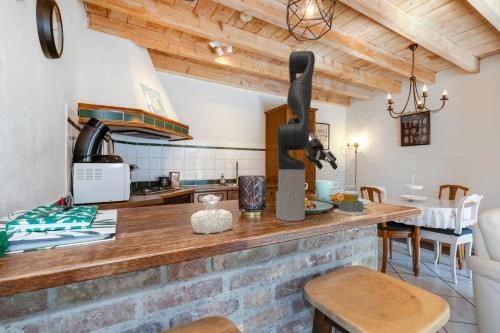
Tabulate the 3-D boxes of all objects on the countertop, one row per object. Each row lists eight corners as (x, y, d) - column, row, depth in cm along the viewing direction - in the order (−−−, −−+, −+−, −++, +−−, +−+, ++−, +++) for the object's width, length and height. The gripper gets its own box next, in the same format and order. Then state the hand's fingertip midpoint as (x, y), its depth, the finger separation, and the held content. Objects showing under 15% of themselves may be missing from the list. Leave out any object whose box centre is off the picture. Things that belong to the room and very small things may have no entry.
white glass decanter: (231, 236, 70) (224, 202, 76) (238, 224, 64) (230, 189, 71) (190, 241, 65) (186, 205, 72) (193, 229, 60) (189, 191, 66)
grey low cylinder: (355, 216, 88) (355, 203, 88) (333, 212, 95) (333, 201, 95) (368, 213, 93) (368, 201, 93) (346, 209, 101) (346, 199, 101)
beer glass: (352, 211, 91) (352, 186, 91) (340, 209, 95) (340, 185, 95) (360, 210, 94) (360, 185, 94) (348, 208, 98) (348, 185, 98)
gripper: (303, 137, 110) (320, 161, 99) (327, 139, 116) (345, 162, 105) (296, 149, 114) (312, 174, 104) (319, 150, 121) (336, 174, 110)
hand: (328, 168), depth 105 cm, fingers open, 8 cm apart
